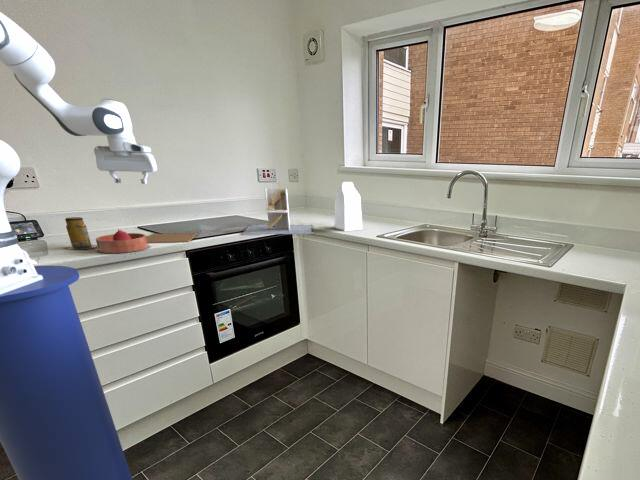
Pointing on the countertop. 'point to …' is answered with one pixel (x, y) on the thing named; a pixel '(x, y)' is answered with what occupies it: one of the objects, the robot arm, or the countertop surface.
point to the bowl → (122, 243)
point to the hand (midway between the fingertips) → (131, 183)
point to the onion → (121, 236)
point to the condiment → (78, 233)
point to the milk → (348, 208)
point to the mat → (170, 237)
